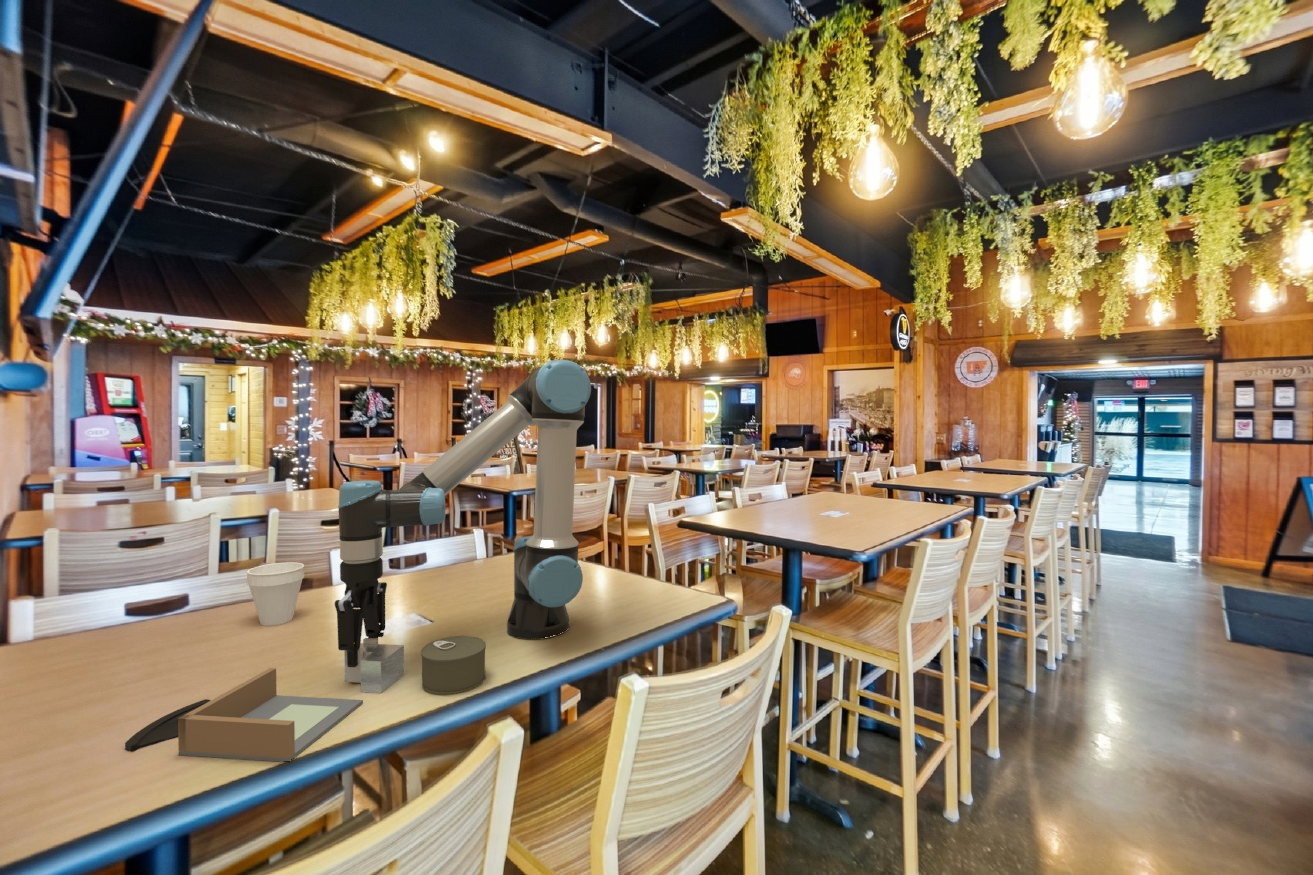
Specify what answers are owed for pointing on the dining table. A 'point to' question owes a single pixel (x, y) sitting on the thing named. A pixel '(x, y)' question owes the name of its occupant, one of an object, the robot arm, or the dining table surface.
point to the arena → (259, 722)
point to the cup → (275, 591)
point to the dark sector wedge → (160, 728)
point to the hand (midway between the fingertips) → (363, 675)
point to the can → (453, 665)
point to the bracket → (379, 666)
